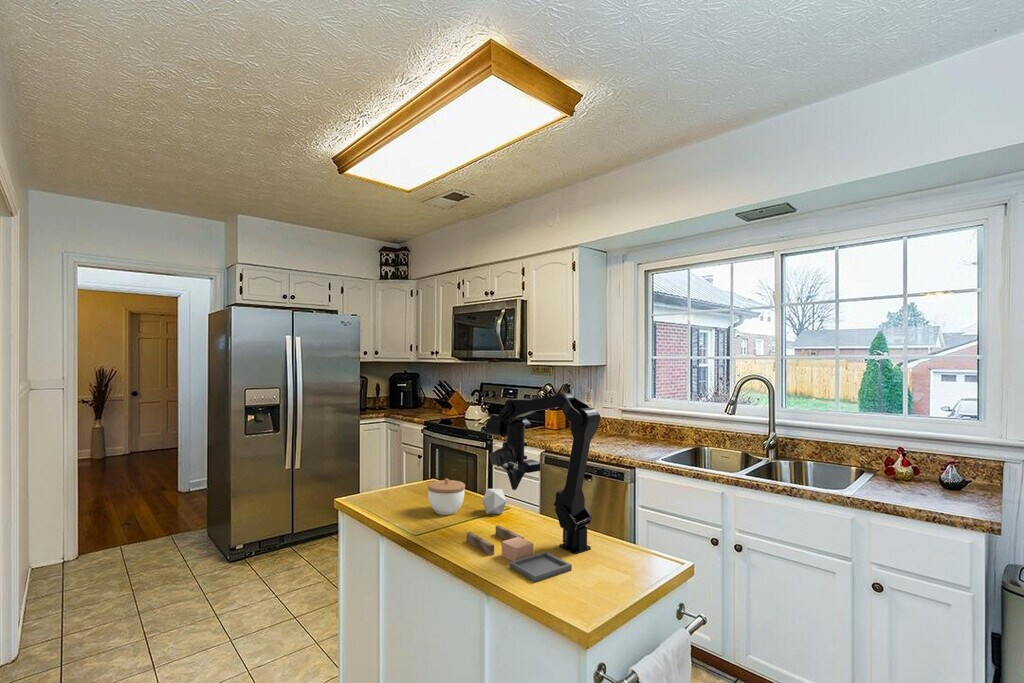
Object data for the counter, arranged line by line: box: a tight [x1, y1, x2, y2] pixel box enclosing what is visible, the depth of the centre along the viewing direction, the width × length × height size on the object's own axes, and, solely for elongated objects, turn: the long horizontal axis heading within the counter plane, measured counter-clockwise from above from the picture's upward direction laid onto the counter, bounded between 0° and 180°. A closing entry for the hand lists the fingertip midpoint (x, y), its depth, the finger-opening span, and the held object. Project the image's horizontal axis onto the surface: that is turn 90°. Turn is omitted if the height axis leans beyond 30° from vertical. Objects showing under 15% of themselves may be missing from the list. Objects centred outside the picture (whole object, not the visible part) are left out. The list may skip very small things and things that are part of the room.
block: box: [501, 537, 534, 562], centre depth 135 cm, size 6×6×4 cm
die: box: [482, 488, 507, 515], centre depth 171 cm, size 8×9×10 cm
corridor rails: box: [466, 525, 525, 556], centre depth 143 cm, size 12×11×2 cm
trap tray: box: [509, 551, 573, 583], centre depth 127 cm, size 10×12×1 cm
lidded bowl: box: [427, 478, 466, 516], centre depth 171 cm, size 13×13×11 cm
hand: (514, 489), depth 156 cm, fingers closed
